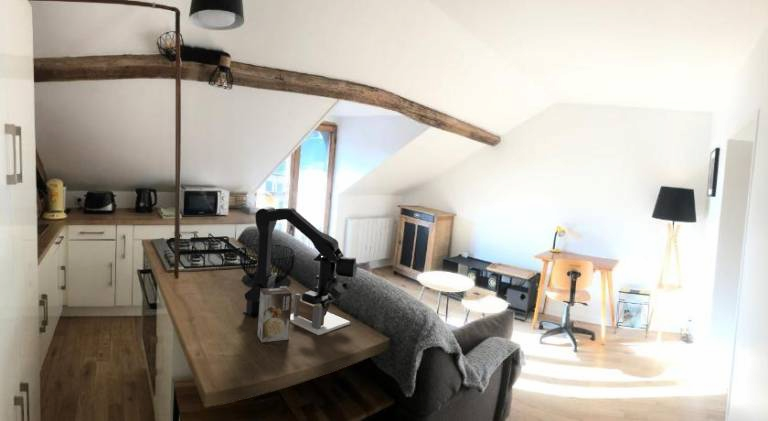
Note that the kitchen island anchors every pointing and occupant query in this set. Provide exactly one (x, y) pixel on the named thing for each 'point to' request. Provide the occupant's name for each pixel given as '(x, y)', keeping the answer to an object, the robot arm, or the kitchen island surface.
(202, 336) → the kitchen island surface
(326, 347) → the kitchen island surface
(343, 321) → the gate frame
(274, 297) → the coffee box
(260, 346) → the kitchen island surface
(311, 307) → the gate
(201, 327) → the kitchen island surface
